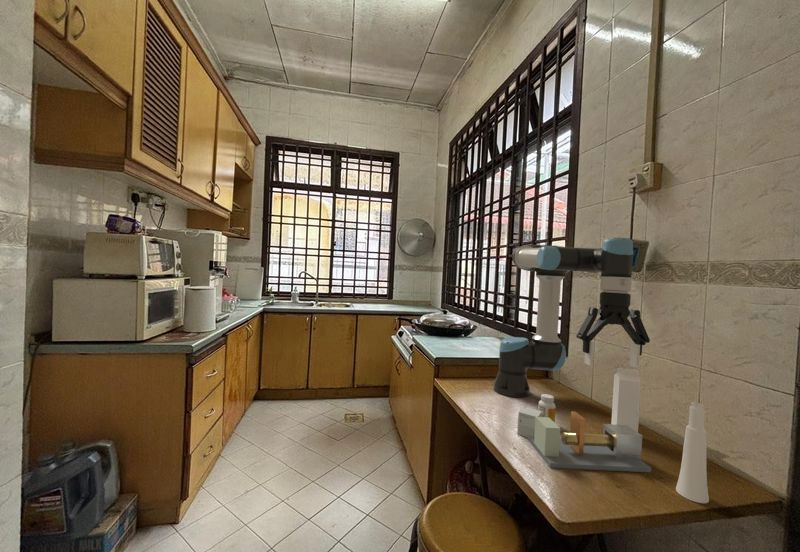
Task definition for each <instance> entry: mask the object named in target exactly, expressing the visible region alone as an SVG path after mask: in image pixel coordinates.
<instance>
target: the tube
mask: <svg viewBox="0 0 800 552" xmlns="http://www.w3.org/2000/svg"><path fill="white" fill-rule="evenodd" d="M569 426H570V427H569V432H565V431H564V432H561V434H560V439H562V442H563V444H564V445H569V446H571V447H572V448H573V449H574V450H575V451H576V452H577V453H578V454H579V455H583V449H584V446H600V447H614V436H612V435H606V434H603V433H602V434H601V433H599V434H598V433H585V430H586V429H585V428H586V419H585V418H584V416H582V415H580V414H579V413H578V412H577V411H570V425H569Z"/></svg>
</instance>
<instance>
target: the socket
mask: <svg viewBox="0 0 800 552" xmlns="http://www.w3.org/2000/svg"><path fill="white" fill-rule="evenodd" d="M561 429H562V428H560V426H559V425H558V424H557V423H554V422H553V421H552V420H551V419H550V418H549V417H536V418H535V435H534V444H535V445H536V446H537V447H538V449H539V450H540V451H541V452H542V453H543V455H544V456H556V457H559V447H560V439H561Z"/></svg>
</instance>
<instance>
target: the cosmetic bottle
mask: <svg viewBox="0 0 800 552" xmlns="http://www.w3.org/2000/svg"><path fill="white" fill-rule="evenodd" d="M704 407H705V405H704V404H703V403H700V402H695V401H691V405H690V406H689V412H688V413H689V414H688V424H687V425H686V426H685V432H684V433H685V434H684V440H683V448H682V457H681V464H680V470H679V476H678V480H677V482H676V487H675V491H676V492H677V493H678V494H679V495H680V496H682V497H683V498H684V499H686V500H688V501H692V502H693V503H698V504H708V503H709V502H710V497H709V489H708V479H707V430H706V429H705V417H706V409H705V408H704Z"/></svg>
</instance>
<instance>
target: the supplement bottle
mask: <svg viewBox="0 0 800 552" xmlns="http://www.w3.org/2000/svg"><path fill="white" fill-rule="evenodd" d="M554 399H555V398H554V396H553V395H551V394H546V393H542V394H541V395H540V400H539V401H538V405H537V406H538V407H537V410H538V411H542V417H549V418H550V419H551V420H552V421H553V422H554V423H555V421H556V408H557V407H556V403H554V401H555V400H554ZM555 424H556V423H555Z"/></svg>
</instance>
